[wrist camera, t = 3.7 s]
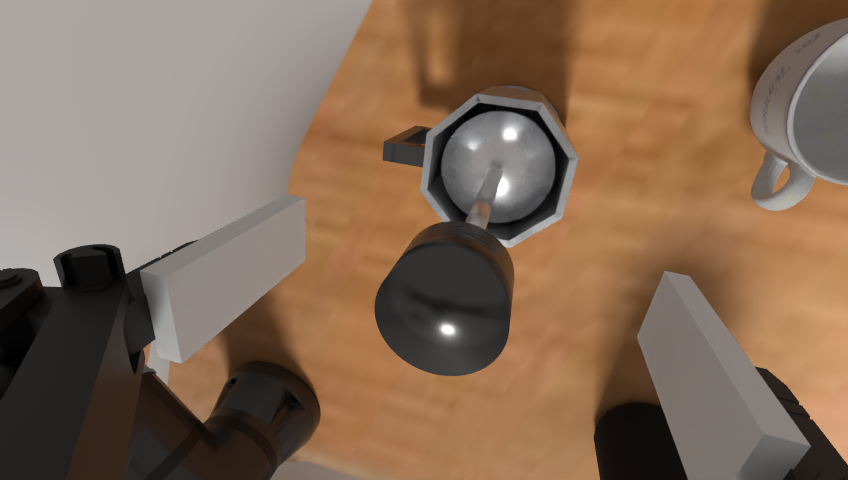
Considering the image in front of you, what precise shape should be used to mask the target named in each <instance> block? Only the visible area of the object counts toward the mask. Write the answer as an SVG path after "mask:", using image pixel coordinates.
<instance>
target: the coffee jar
mask: <svg viewBox="0 0 848 480" xmlns="http://www.w3.org/2000/svg"><path fill="white" fill-rule="evenodd" d="M594 442H595V449H596V455H597V462H598V468H599V475H600V480H688V478H687V475H686V472H685V470H684V467H683V464H682V461H681V458H680V456H679V453H678V450H677V447H676V445H675V442H674V439H673V436H672V433H671V431H670V428H669V425H668V422H667V420H666V417H665V414H664V411H663V409H662V408H661V407H659V406H656V405H651V404H646V403H629V404H626V405H622V406H618V407H616V408H614V409H612V410H611V411H609V412H607V413H606V415H605V416H604V417H603V418H602V419H601V421H600V422H599V423H598V424H597V427H596V430H595V434H594Z"/></svg>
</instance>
